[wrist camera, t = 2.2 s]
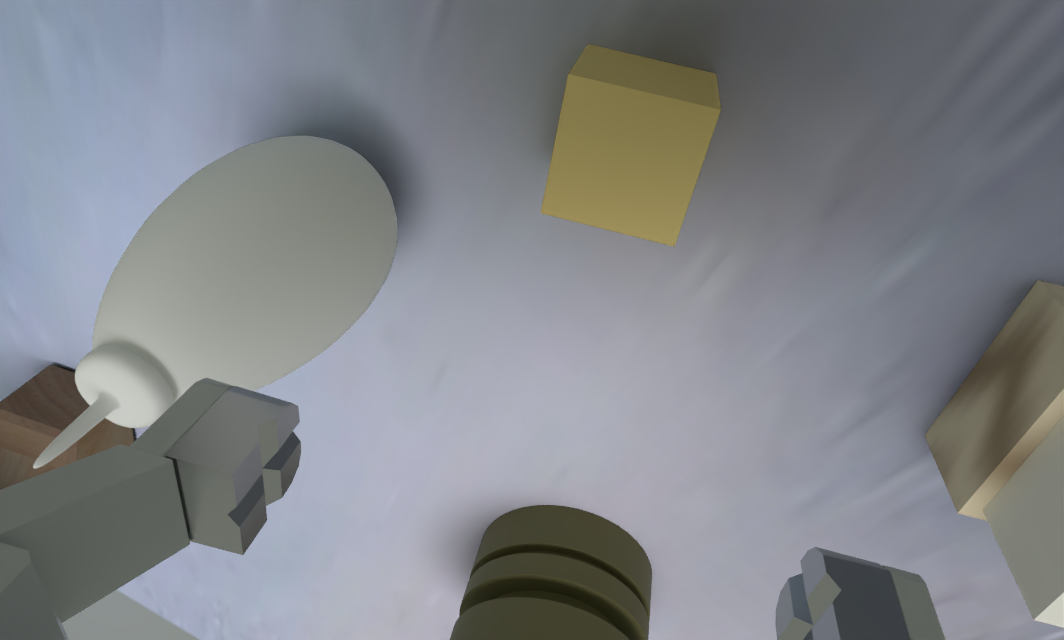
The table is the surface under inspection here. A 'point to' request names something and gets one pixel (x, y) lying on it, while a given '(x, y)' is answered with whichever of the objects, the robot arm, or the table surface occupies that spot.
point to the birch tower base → (1004, 403)
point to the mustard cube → (630, 143)
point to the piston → (556, 580)
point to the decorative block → (48, 426)
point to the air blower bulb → (237, 279)
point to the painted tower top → (1035, 527)
